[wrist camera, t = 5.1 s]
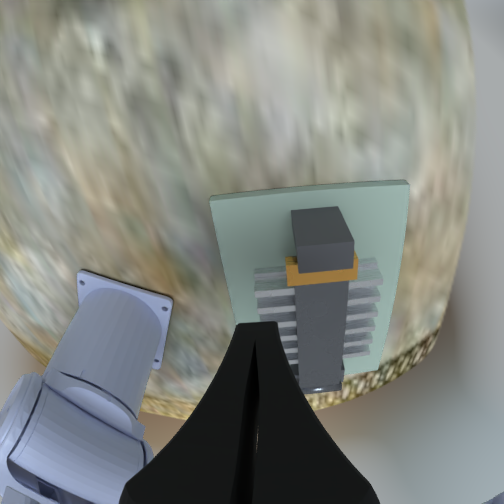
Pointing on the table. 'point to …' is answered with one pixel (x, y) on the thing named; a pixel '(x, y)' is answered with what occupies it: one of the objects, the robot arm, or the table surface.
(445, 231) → the table surface
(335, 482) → the robot arm
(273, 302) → the heat sink
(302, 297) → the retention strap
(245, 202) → the socket board
